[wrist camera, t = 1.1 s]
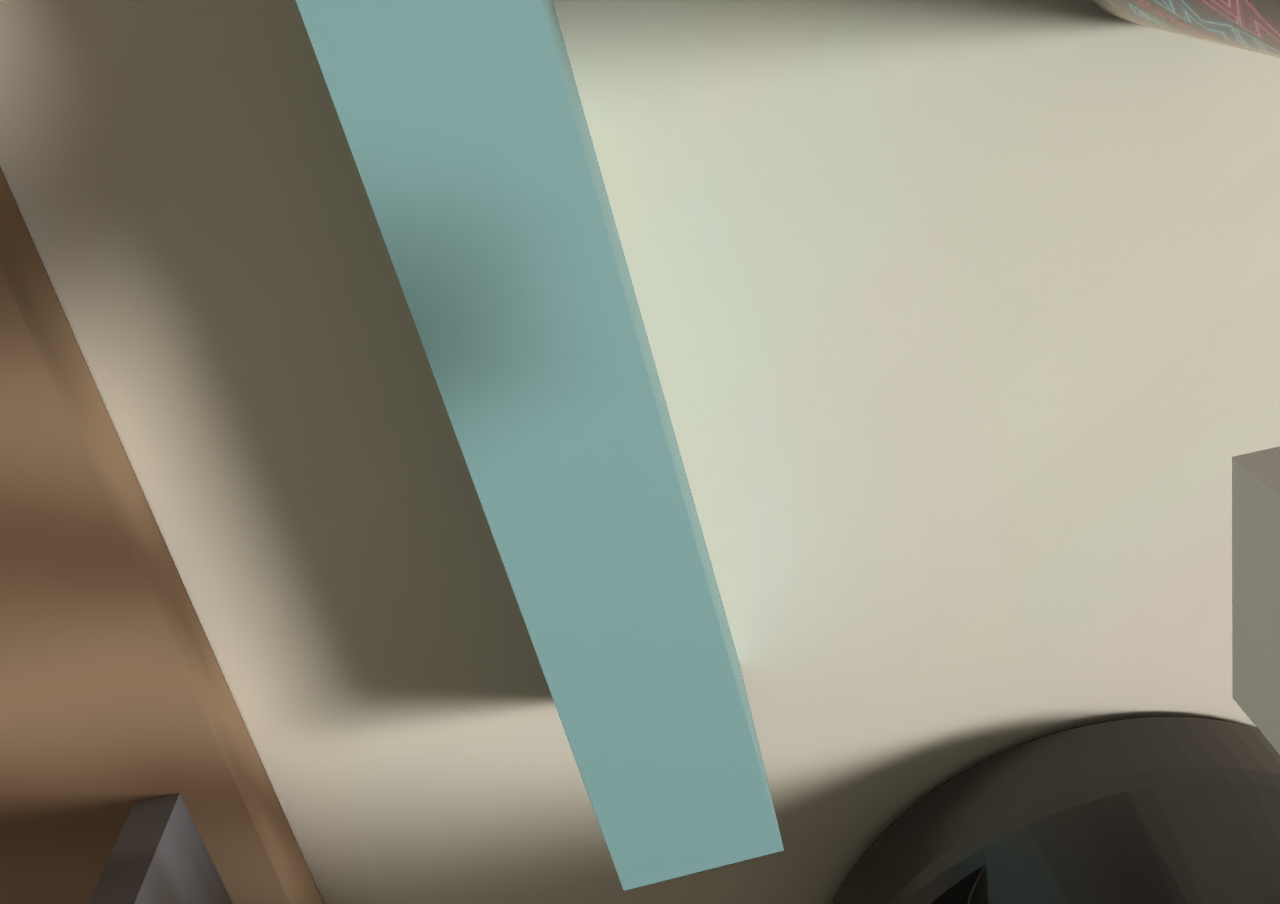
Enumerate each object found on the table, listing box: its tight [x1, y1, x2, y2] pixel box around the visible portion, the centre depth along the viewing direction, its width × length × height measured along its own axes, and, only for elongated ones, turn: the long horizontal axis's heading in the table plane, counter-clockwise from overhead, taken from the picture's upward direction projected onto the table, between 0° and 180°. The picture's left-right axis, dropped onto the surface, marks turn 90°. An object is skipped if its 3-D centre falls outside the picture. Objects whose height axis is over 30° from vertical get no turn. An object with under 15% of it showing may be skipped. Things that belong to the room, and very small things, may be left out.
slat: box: [296, 0, 784, 891], centre depth 21 cm, size 18×3×6 cm, turn 15°
